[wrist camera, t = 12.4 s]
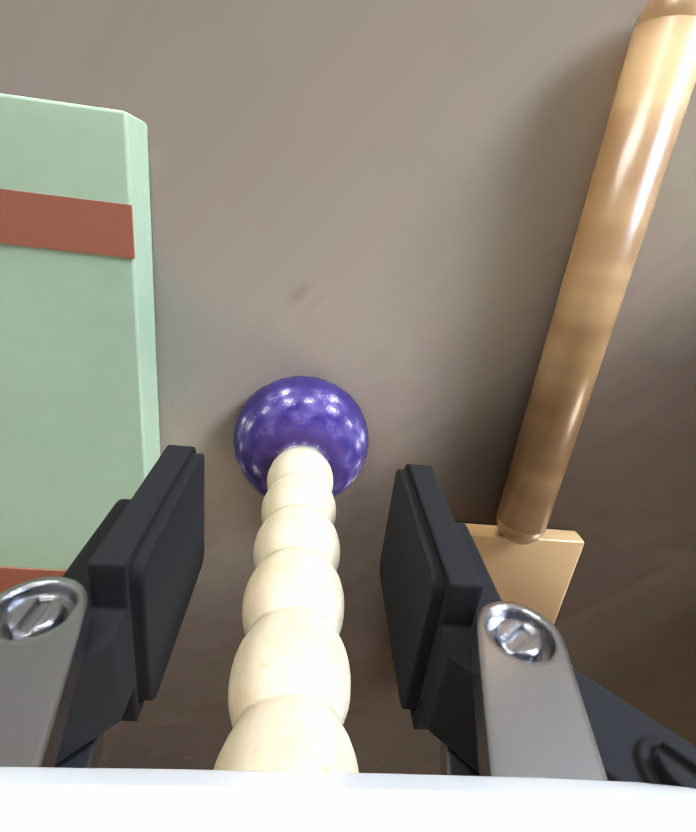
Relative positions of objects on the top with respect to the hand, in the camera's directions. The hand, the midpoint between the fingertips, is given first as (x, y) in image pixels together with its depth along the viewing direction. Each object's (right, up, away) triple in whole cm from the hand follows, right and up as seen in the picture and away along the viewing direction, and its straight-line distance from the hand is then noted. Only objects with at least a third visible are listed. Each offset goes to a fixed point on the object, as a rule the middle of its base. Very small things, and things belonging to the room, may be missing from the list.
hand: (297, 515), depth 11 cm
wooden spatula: (+7, +2, +5) cm, 9 cm away
